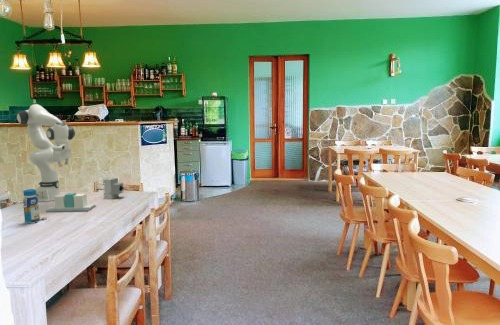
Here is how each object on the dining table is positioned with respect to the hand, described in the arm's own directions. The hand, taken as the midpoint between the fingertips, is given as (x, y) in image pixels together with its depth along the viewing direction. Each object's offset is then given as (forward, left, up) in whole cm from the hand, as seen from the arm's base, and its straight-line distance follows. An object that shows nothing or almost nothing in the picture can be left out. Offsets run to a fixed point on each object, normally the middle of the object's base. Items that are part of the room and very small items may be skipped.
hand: (63, 165), depth 279 cm
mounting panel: (+7, -9, -29) cm, 32 cm away
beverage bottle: (-3, -40, -30) cm, 50 cm away
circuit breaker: (+26, +25, -30) cm, 47 cm away
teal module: (+8, -9, -27) cm, 30 cm away
